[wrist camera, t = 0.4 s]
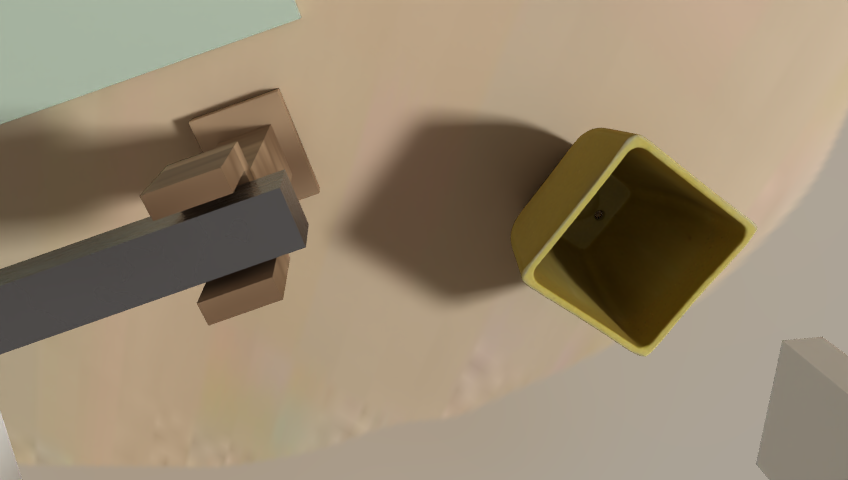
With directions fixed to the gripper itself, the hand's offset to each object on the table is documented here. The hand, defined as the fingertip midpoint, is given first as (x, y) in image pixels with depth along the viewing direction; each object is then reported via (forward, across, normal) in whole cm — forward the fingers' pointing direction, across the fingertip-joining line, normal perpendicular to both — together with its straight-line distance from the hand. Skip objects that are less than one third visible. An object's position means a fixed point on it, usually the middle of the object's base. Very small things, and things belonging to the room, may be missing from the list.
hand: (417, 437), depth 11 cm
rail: (+16, -17, -5) cm, 25 cm away
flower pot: (+28, +13, -6) cm, 31 cm away
